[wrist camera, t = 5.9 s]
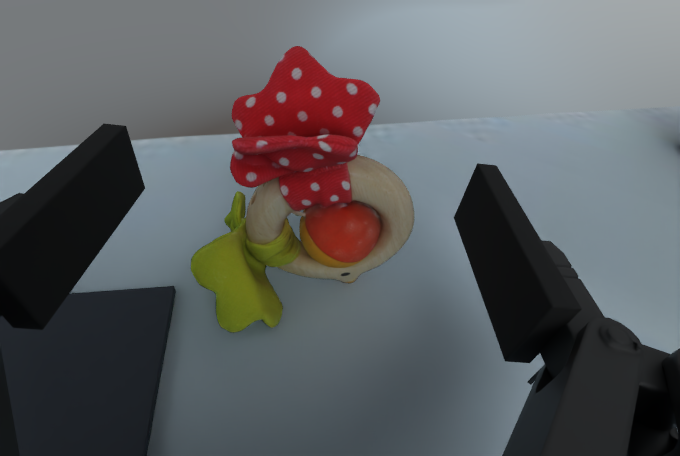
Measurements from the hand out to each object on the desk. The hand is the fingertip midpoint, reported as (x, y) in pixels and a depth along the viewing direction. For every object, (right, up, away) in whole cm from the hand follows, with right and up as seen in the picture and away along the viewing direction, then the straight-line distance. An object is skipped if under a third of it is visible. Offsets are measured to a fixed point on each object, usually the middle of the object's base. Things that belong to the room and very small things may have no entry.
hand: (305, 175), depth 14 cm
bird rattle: (-1, -5, +4) cm, 7 cm away
